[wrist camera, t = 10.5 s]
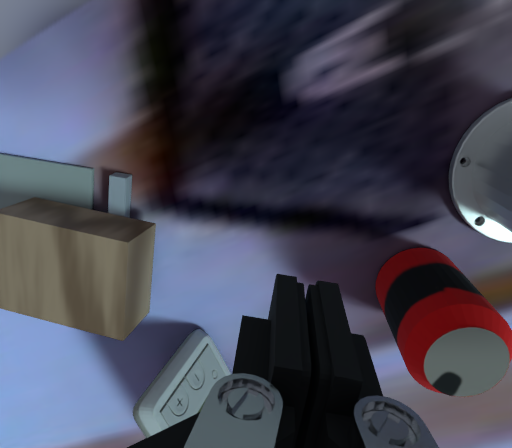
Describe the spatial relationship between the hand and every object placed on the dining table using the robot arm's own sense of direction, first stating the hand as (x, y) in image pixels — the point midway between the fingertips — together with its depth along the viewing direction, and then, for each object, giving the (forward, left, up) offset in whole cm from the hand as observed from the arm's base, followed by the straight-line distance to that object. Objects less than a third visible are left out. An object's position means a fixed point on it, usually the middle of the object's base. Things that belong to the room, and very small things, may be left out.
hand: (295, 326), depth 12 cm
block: (+11, +12, -22) cm, 28 cm away
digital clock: (+3, +26, -27) cm, 38 cm away
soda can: (-14, +10, -27) cm, 32 cm away
